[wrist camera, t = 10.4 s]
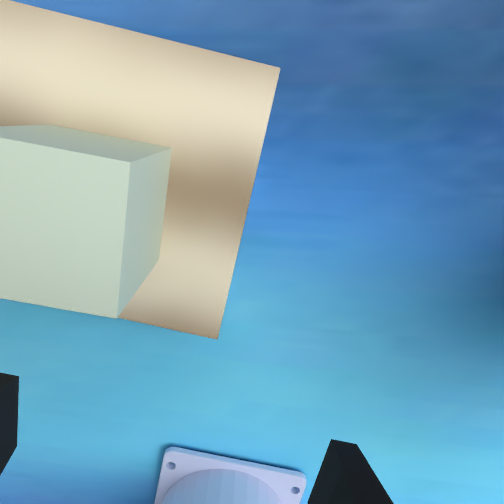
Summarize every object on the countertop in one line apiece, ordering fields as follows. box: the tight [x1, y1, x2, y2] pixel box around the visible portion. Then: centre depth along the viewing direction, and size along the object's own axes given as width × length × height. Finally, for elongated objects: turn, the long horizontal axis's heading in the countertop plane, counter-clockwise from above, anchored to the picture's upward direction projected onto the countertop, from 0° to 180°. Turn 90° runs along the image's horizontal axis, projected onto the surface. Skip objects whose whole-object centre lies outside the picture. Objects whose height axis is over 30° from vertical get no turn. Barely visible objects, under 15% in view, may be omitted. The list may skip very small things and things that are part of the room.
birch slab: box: [0, 0, 280, 339], centre depth 17 cm, size 11×11×3 cm
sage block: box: [0, 124, 172, 319], centre depth 13 cm, size 4×4×5 cm
